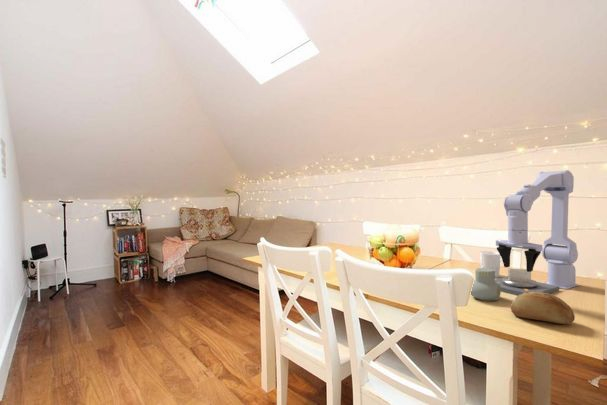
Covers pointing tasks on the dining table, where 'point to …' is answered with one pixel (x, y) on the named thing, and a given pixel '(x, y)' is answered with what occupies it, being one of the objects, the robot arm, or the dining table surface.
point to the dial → (519, 279)
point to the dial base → (517, 291)
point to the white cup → (490, 261)
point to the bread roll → (542, 308)
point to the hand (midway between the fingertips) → (518, 269)
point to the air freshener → (485, 285)
